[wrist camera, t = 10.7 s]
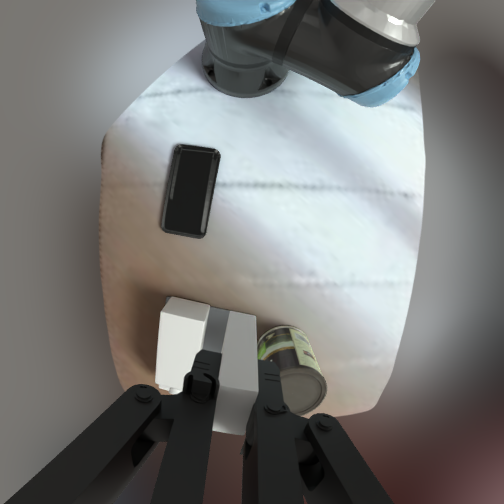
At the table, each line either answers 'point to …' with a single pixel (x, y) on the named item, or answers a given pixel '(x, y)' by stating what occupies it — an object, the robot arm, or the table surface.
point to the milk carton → (179, 341)
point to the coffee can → (294, 367)
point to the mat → (215, 328)
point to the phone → (190, 191)
